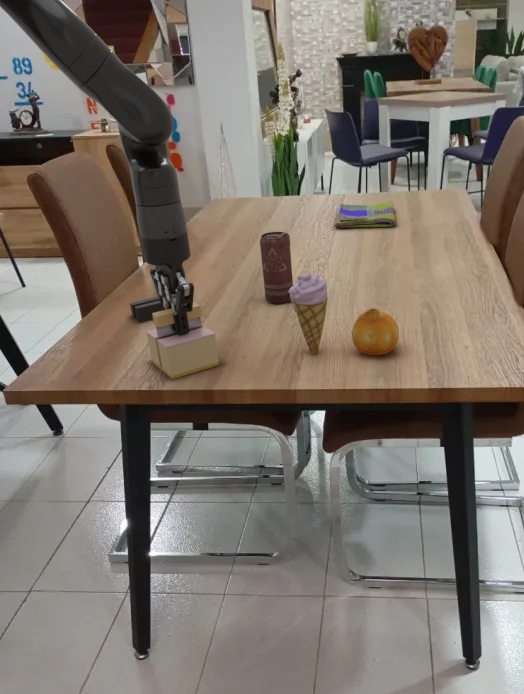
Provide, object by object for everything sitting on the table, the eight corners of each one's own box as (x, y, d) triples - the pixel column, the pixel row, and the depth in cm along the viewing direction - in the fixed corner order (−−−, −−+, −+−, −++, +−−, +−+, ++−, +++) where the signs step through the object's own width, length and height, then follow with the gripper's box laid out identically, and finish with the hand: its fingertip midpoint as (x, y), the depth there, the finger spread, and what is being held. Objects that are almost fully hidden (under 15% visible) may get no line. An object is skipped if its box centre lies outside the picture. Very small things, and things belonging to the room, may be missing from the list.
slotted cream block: (171, 379, 117) (166, 346, 114) (152, 362, 124) (146, 331, 121) (219, 364, 121) (215, 333, 118) (198, 349, 128) (193, 318, 125)
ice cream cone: (293, 360, 121) (286, 277, 114) (293, 346, 126) (286, 266, 119) (331, 357, 121) (326, 274, 114) (329, 344, 127) (325, 263, 119)
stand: (139, 322, 142) (137, 308, 140) (132, 316, 145) (129, 303, 143) (180, 311, 146) (178, 298, 144) (172, 306, 149) (170, 293, 147)
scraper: (165, 365, 119) (156, 316, 115) (160, 361, 121) (151, 313, 116) (207, 353, 123) (200, 305, 118) (202, 349, 125) (195, 302, 120)
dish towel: (395, 208, 217) (395, 199, 215) (395, 228, 196) (395, 218, 194) (339, 210, 218) (339, 201, 217) (333, 230, 198) (333, 220, 196)
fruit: (345, 349, 118) (368, 309, 115) (342, 335, 125) (364, 296, 122) (386, 370, 120) (410, 331, 117) (382, 355, 127) (404, 317, 124)
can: (300, 299, 148) (295, 234, 141) (274, 306, 145) (268, 240, 138) (286, 292, 153) (281, 228, 146) (260, 299, 150) (254, 234, 143)
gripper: (125, 227, 114) (144, 325, 123) (157, 243, 104) (175, 349, 113) (168, 219, 118) (183, 315, 126) (202, 234, 107) (217, 337, 116)
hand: (179, 330), depth 119 cm, fingers closed on scraper, 2 cm apart
